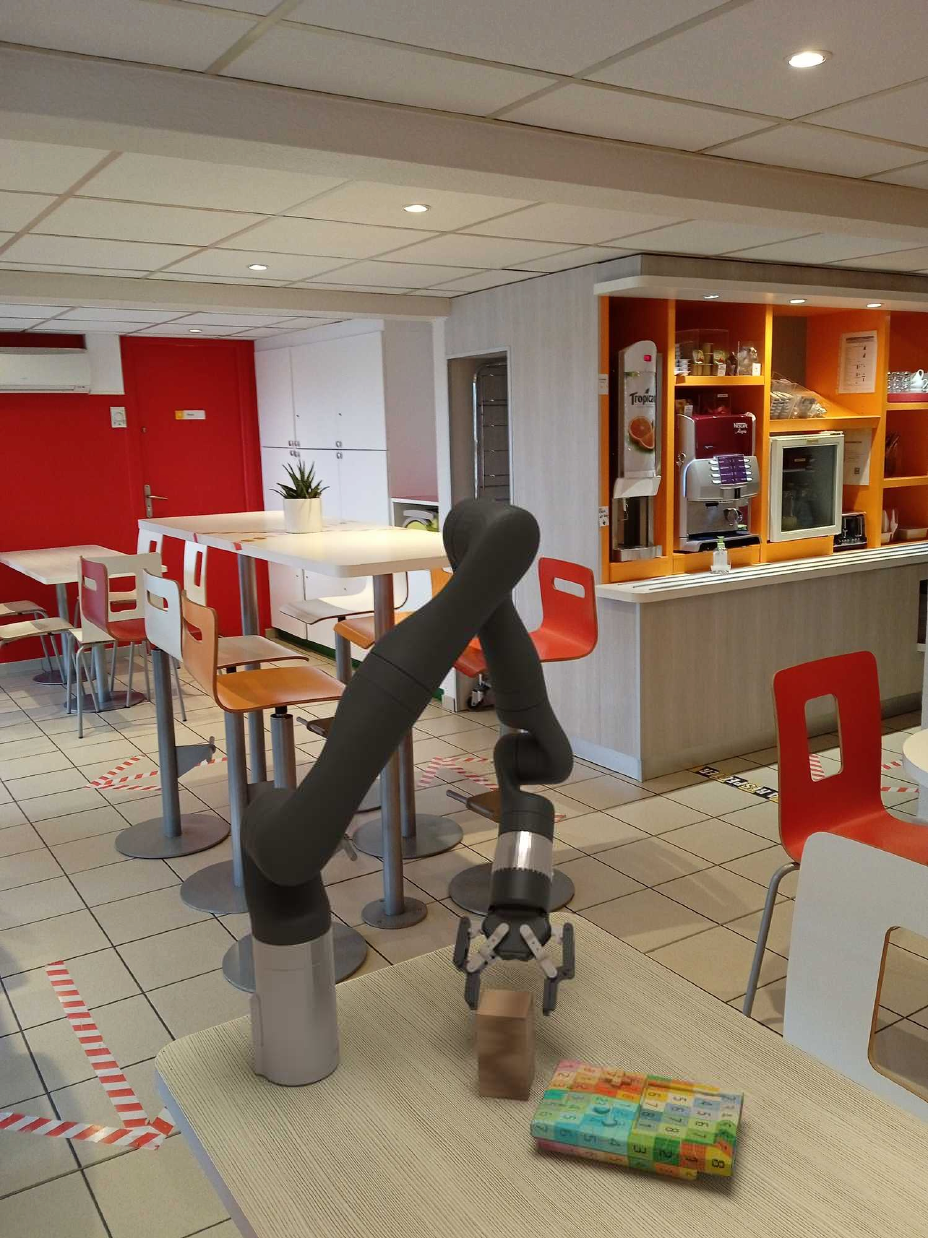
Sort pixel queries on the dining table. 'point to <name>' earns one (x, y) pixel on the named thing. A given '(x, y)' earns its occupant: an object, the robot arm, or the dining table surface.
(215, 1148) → the dining table surface
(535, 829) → the robot arm
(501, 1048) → the walnut block
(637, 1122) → the puzzle game
